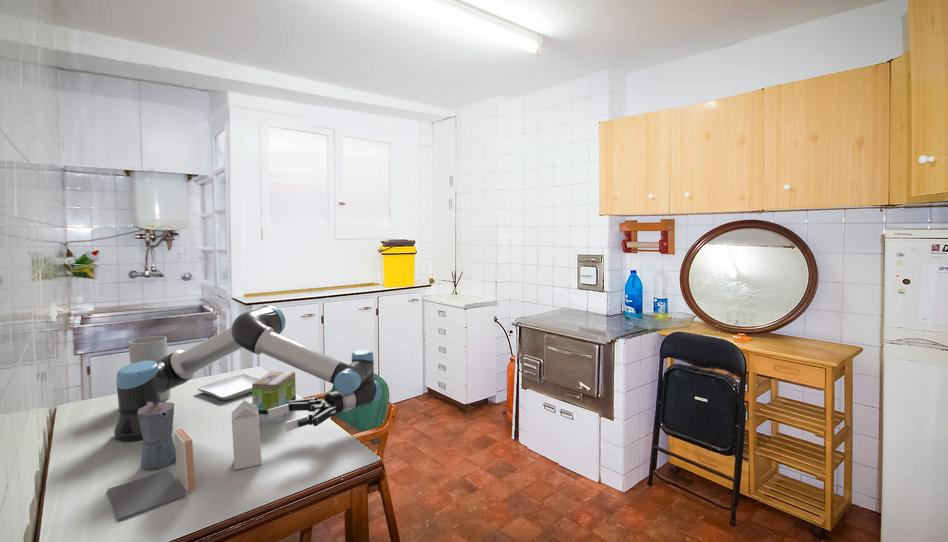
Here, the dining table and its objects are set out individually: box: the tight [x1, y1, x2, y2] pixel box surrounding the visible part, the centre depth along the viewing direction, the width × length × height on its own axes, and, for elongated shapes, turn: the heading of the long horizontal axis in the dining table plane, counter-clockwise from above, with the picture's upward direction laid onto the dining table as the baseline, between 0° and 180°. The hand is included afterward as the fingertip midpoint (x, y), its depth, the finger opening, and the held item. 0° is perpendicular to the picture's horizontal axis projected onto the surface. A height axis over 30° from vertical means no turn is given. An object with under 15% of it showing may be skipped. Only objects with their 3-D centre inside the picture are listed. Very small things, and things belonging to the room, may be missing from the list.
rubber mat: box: [106, 469, 186, 522], centre depth 123 cm, size 18×14×1 cm
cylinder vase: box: [128, 335, 171, 402], centre depth 188 cm, size 12×12×25 cm
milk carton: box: [231, 397, 262, 471], centre depth 138 cm, size 7×7×19 cm
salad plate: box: [196, 373, 260, 401], centre depth 199 cm, size 21×21×3 cm
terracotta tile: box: [173, 427, 196, 493], centre depth 127 cm, size 10×2×14 cm, turn 45°
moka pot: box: [137, 399, 176, 471], centre depth 138 cm, size 10×15×20 cm, turn 58°
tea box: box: [251, 371, 297, 424], centre depth 173 cm, size 15×10×15 cm
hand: (276, 420), depth 144 cm, fingers open, 13 cm apart
